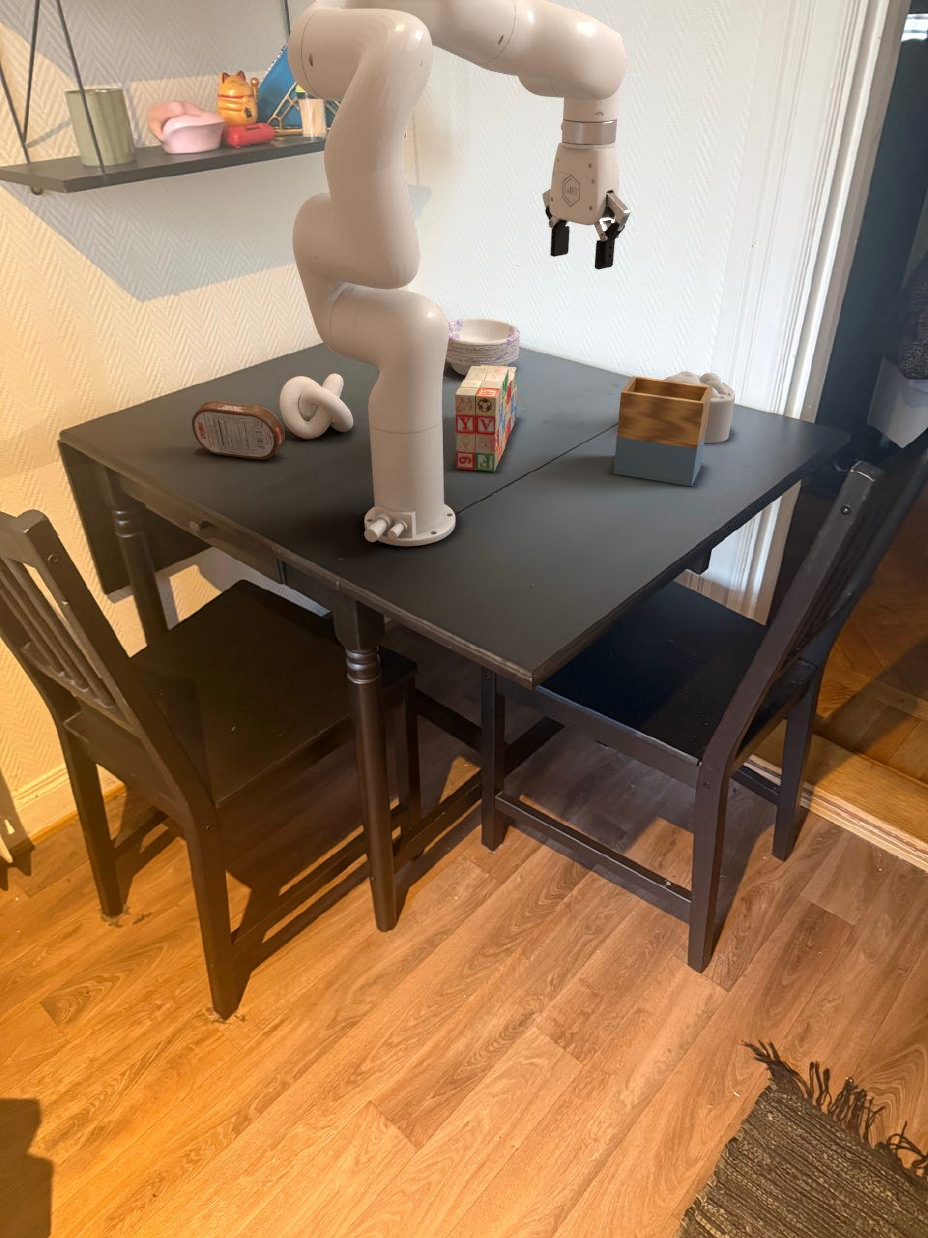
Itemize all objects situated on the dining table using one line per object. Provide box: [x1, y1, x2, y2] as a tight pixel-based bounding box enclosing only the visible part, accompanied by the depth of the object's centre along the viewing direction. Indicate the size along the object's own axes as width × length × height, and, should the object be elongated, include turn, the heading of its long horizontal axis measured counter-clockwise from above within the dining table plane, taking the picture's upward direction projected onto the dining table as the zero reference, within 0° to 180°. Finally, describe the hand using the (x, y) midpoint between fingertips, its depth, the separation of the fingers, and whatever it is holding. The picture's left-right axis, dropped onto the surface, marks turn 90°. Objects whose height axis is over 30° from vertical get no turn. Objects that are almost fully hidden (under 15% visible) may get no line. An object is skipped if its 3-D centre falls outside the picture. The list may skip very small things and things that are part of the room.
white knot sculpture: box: [279, 373, 354, 440], centre depth 154 cm, size 11×12×9 cm
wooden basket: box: [616, 375, 713, 449], centre depth 137 cm, size 12×7×7 cm, turn 68°
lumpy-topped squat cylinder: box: [663, 370, 736, 444], centre depth 153 cm, size 10×13×9 cm
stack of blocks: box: [454, 365, 518, 473], centre depth 148 cm, size 21×6×12 cm, turn 168°
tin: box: [191, 400, 286, 461], centre depth 146 cm, size 15×3×8 cm, turn 74°
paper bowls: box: [445, 317, 521, 377], centre depth 178 cm, size 15×15×8 cm
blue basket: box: [612, 432, 706, 487], centre depth 141 cm, size 12×7×6 cm, turn 68°
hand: (580, 261), depth 139 cm, fingers open, 9 cm apart
